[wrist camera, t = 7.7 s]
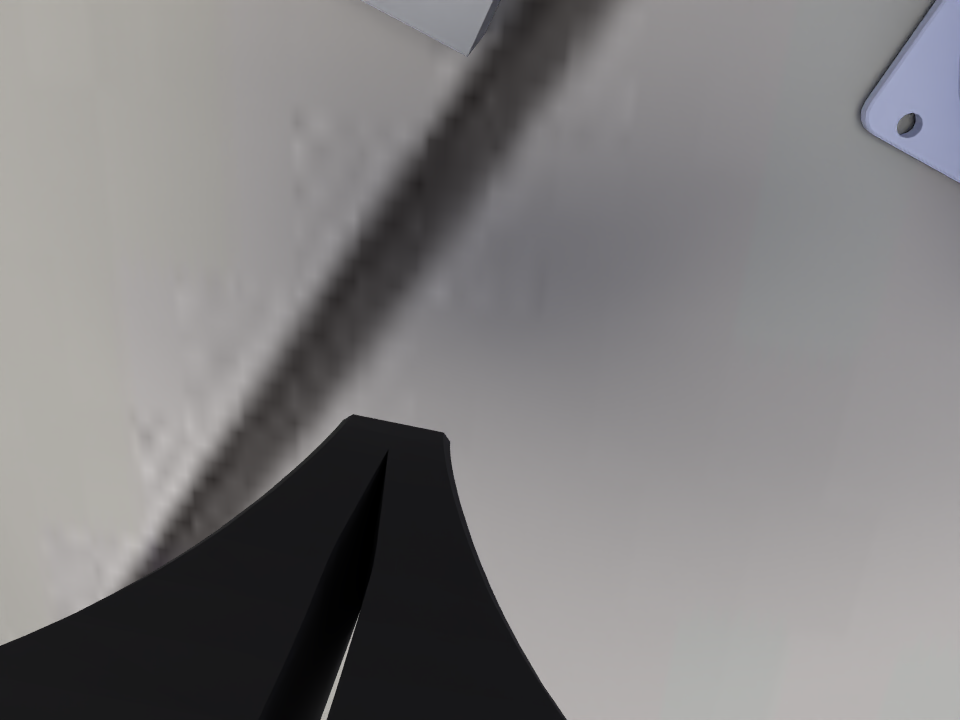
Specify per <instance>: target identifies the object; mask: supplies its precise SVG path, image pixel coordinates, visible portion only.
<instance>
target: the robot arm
mask: <svg viewBox="0 0 960 720" xmlns="http://www.w3.org/2000/svg"><path fill="white" fill-rule="evenodd" d="M910 113H914V114H915V117H916V122H915V125H914V127H913V128H912V129H911V130H910V131H909V132H908V133H904V134H898V133H897V124H898V122H899V120H900V119H901V118H902V117H903V116H904V115H906V114H910ZM861 121H862V124H863V126H864V128H865V129H867V130H868V131H869V132H870V133H871V134H873V135H875V136H876V137H878V138H880V139H882V140H884V141H885V142H887V143H889V144H891V145H893V146H894V147H896V148H898V149H900V150H902V151H903V152H905V153H907V154H909V155H911V156H912V157H914V158H916V159H918V160H919V161H921V162H923V163H925V164H927V165H928V166H930V167H932V168H934V169H936V170H937V171H939V172H941V173H943V174H945V175H946V176H948V177H950V178H952V179H954V180H955V181H957V182H959V183H960V0H936V1H935V3H934V4H933V6H932V7H931V9H930V10H929V11H928V13H927V14H926V16H925V17H924V19H923V20H922V21H921V23H920V24H919V26H918V27H917V28H916V30H915V31H914V33H913V34H912V36H911V37H910V38H909V40H908V41H907V43H906V44H905V46H904V47H903V48H902V50H901V51H900V53H899V54H898V56H897V57H896V58H895V60H894V61H893V63H892V64H891V66H890V67H889V68H888V70H887V71H886V73H885V74H884V75H883V77H882V78H881V80H880V81H879V83H878V84H877V85H876V87H875V88H874V90H873V91H872V93H871V94H870V95H869V97H868V98H867V100H866V101H865V103H864V105H863V108H862V110H861ZM359 613H360V614H359ZM358 616H359V617H358ZM357 618H358V621H357ZM356 621H357V624H356ZM355 624H356V627H355ZM354 627H355V631H354V634H353V637H352V641H351V644H350V647H349V650H348V654H347V657H346V660H345V664H344V667H343V670H342V674H341V677H340V680H339V683H338V686H337V689H336V692H335V696H334V699H333V702H332V705H331V708H330V711H329V714H328V718H327V720H567V719H566V718H565V716H564V715H563V714H562V712H561V711H560V709H559V708H558V706H557V705H556V703H555V702H554V700H553V699H552V697H551V696H550V695H549V693H548V692H547V690H546V689H545V687H544V686H543V684H542V683H541V681H540V679H539V678H538V676H537V674H536V673H535V671H534V669H533V667H532V666H531V664H530V662H529V661H528V659H527V657H526V655H525V654H524V652H523V650H522V649H521V647H520V645H519V643H518V641H517V639H516V638H515V636H514V634H513V632H512V630H511V628H510V626H509V624H508V622H507V621H506V619H505V617H504V615H503V612H502V610H501V608H500V606H499V604H498V602H497V600H496V598H495V595H494V593H493V591H492V589H491V587H490V584H489V582H488V579H487V577H486V575H485V572H484V570H483V567H482V565H481V563H480V560H479V558H478V555H477V552H476V550H475V547H474V544H473V542H472V538H471V535H470V532H469V529H468V526H467V523H466V520H465V517H464V514H463V511H462V507H461V504H460V500H459V497H458V493H457V488H456V484H455V480H454V475H453V470H452V464H451V456H450V441H449V440H448V438H447V437H446V435H445V434H444V433H443V432H438V431H433V430H428V429H423V428H418V427H413V426H408V425H403V424H398V423H393V422H388V421H383V420H378V419H373V418H369V417H364V416H359V415H354V414H353V415H351V416H349V417H348V418H346V419H344V420H343V421H342V422H341V423H340V424H339V426H338V427H337V428H336V429H335V430H334V431H333V432H332V433H331V434H330V435H329V436H328V437H327V438H326V439H325V440H324V441H323V442H322V443H321V444H320V445H319V446H318V447H317V448H316V449H315V450H314V451H313V452H312V453H311V454H310V455H309V456H308V457H307V458H306V459H305V460H304V461H303V462H301V463H300V464H299V465H298V466H297V467H296V468H295V469H294V470H292V471H291V472H290V473H289V474H288V475H287V476H285V477H284V478H283V479H282V480H281V481H280V482H279V483H277V484H276V485H275V486H274V487H273V488H272V489H270V490H269V491H268V492H267V493H266V494H264V495H263V496H262V497H261V498H259V499H258V500H257V501H255V502H254V503H253V504H252V505H250V506H249V507H248V508H246V509H245V510H244V511H242V512H241V513H240V514H238V515H237V516H236V517H234V518H233V519H232V520H230V521H229V522H228V523H226V524H225V525H224V526H222V527H221V528H220V529H218V530H217V531H216V532H214V533H213V534H211V535H210V536H208V537H207V538H205V539H204V540H202V541H201V542H199V543H198V544H197V545H195V546H193V547H192V548H190V549H189V550H187V551H186V552H184V553H183V554H181V555H179V556H178V557H176V558H175V559H173V560H171V561H170V562H168V563H166V564H165V565H163V566H162V567H160V568H158V569H157V570H155V571H153V572H152V573H150V574H148V575H146V576H145V577H143V578H141V579H139V580H137V581H135V582H134V583H132V584H130V585H128V586H126V587H125V588H123V589H121V590H119V591H117V592H115V593H114V594H112V595H110V596H108V597H106V598H104V599H102V600H100V601H98V602H96V603H94V604H92V605H90V606H88V607H86V608H84V609H83V610H81V611H79V612H77V613H75V614H72V615H70V616H68V617H66V618H64V619H62V620H59V621H57V622H55V623H53V624H50V625H48V626H46V627H44V628H41V629H39V630H37V631H35V632H32V633H30V634H28V635H26V636H23V637H21V638H18V639H16V640H13V641H11V642H9V643H6V644H4V645H1V646H0V720H320V719H321V717H322V714H323V711H324V709H325V706H326V703H327V700H328V698H329V695H330V692H331V689H332V687H333V684H334V681H335V679H336V676H337V673H338V670H339V668H340V665H341V662H342V660H343V657H344V654H345V651H346V649H347V646H348V643H349V640H350V638H351V635H352V632H353V629H354Z"/></svg>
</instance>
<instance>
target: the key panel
mask: <svg viewBox="0 0 960 720" xmlns="http://www.w3.org/2000/svg"><path fill="white" fill-rule="evenodd" d="M361 1H363V2H365V3H367V4H369V5H371V6H372V7H374V8H376V9H378V10H380V11H382V12H384V13H386V14H387V15H389V16H391V17H393V18H395V19H397V20H399V21H401V22H403V23H404V24H406V25H408V26H410V27H412V28H414V29H416V30H418V31H420V32H421V33H423V34H425V35H427V36H429V37H431V38H433V39H435V40H437V41H438V42H440V43H442V44H444V45H446V46H448V47H450V48H452V49H453V50H455V51H457V52H459V53H461V54H463V55H465V56H468V55H469V54H470V53H471V51H472V50H473V49H474V47H475V46H476V45H477V43H478V42H479V41H480V39H481V38H482V37H483V35H484V34H485V33H486V30H487V28H488V26H489V24H490V22H491V19H492V17H493V15H494V13H495V11H496V9H497V6H498V4H499V2H500V0H361Z"/></svg>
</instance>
